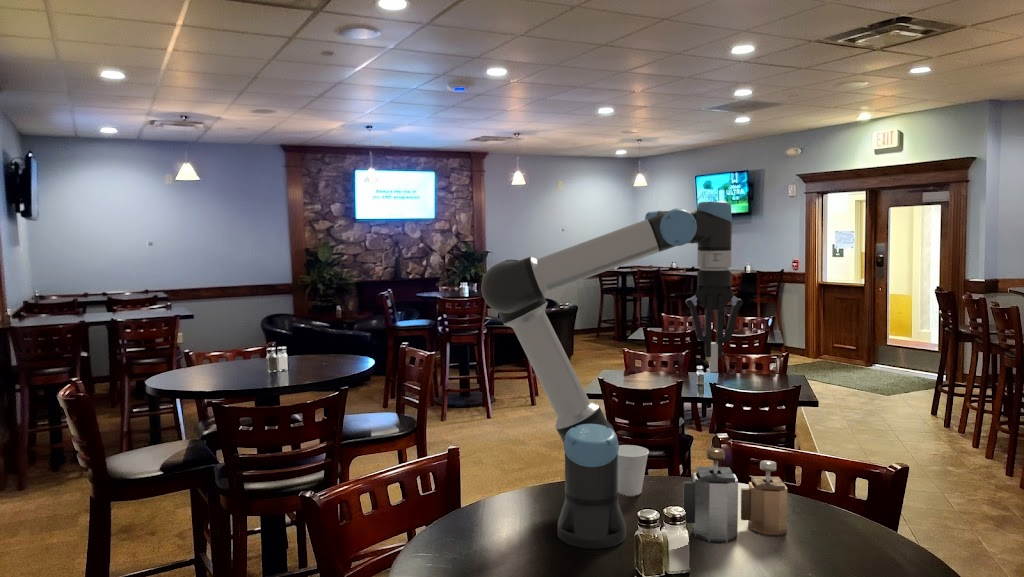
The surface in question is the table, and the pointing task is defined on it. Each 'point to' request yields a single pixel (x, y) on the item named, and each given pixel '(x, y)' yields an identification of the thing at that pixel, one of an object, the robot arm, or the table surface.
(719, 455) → the steel plunger
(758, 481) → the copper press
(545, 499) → the table surface
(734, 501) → the steel press
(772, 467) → the grey press handle
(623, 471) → the cup
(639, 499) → the table surface
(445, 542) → the table surface
